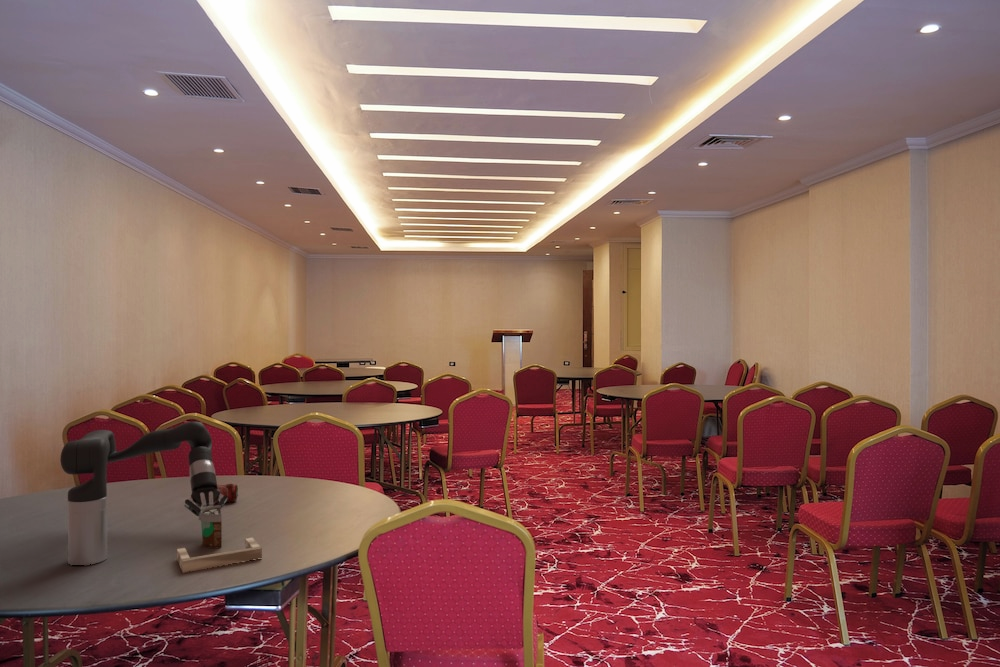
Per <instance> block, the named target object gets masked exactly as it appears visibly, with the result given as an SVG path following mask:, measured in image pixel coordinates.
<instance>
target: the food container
mask: <svg viewBox="0 0 1000 667" xmlns="http://www.w3.org/2000/svg"><path fill="white" fill-rule="evenodd" d="M221 512H222V508H221V505H213V506H212V507H208V506H207V508H205V509H202V510H201V512H200V514H199V516H198V521H200V522H201V523H200V524H201V537H202V546H203V547H204V546H205V547H204V548H207V547H222V537H223V536H222V533H223V532H222V523H223V522H222V521H223V520H222V519H223V518H222V513H221ZM222 548H223V547H222Z"/></svg>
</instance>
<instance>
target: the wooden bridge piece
mask: <svg viewBox="0 0 1000 667" xmlns="http://www.w3.org/2000/svg"><path fill="white" fill-rule="evenodd" d="M244 541H245V542H244V546H245V548H246V549H245V548H241V549H237V550H230V551H224V552H218V553H212V554H211V553H210V554H205V555H200V556H199V555H197V556H193V557H192V556H191V557H190V555H189V553H188V551H187V549H186V547H181V548H177V549H176V560H177V563H178V565H179V567H180V570H181V572H182V573H183V574H184V573H189V571H190V572H194V571H202V570H206V569H207V568H208V569H213V568H212V567H214V568H218V567H217V566H219V567H223V566H222V565H225V566H229V565H228V564H231V565H233V564H232V563H237V564H239V563H238V562H242V561H248V560H253V559H258V558H262V559H263V551H262V550H263V549H262V547H261V545H260V544H259V543H258V542H257V541H256V540H255V539H254V537H247V538H245V539H244ZM208 569H207V570H208Z"/></svg>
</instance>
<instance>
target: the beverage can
mask: <svg viewBox="0 0 1000 667" xmlns="http://www.w3.org/2000/svg"><path fill="white" fill-rule="evenodd" d="M217 487H218V490H219V491H220V494H222V495H227V496H228V497H227V501H226V503H233V502H235V501H237V500H238V497H239V494H238V492H239V491H238V489H239V487H238V485H237V484H234V483H224V484H223V483H221V484H217ZM218 503H219V498H218V499H217V501H216V502H215V504H218Z"/></svg>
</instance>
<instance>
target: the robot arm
mask: <svg viewBox="0 0 1000 667" xmlns="http://www.w3.org/2000/svg"><path fill="white" fill-rule="evenodd" d="M183 442H187V443H188V445H189V446H190V451H189V453H188V466H189V480H190V488H191V495H190V497H189V498H187V499H185V501H184V505H183V506H184V507H185V508H186V509H187V510H189V511H190V512H191V513H193V514H194V515H195V516H197V517H199V514H200V512H201V510H202V509H205V508H208V507H212V506H215V504H217V505H221V509H222V508H223V506H225V504H226V503H227V502H226V501H227V497H228V496H227V495H222V494H220V491H219V490H218V487H217V485H218V482H217V473H216V469H215V465H214V461H213V455H212V453H213V452H212V451H213V449H212V448H213V440H212V435H211V434H210V431H209V430H208V429H207V427H205V425H204V424H203V423H202V422H200V421H196V420H195V421H188V422H185V423H182V424H180V425H177V426H175V427H172V428H167V429H159V430H157V429H156V430H153V431H150V432H148V433H146V434H144V435H143V436H141V437H140V438H139V439H138V440H136V441H135V442H134V443H132V444H131V445H130V446H128V447H126V448H124V449H122V450H118V451H117V444H116V437H115V434H114V433H113V431H111V430H108V429H97V430H94V431H90V432H88V433H86V434H84V435H83V436H82V438H80V439H78V440H70V441H68V442H66V443H65V445H63V448H62V449H61V452H60V459H59V460H60V465H61V468H62V470H63V472H64V473H65V474H67V475H86V474H87V475H88V474H93V476H92V477H91V478H90V479H89V480H87V481H85V482H83V483H81V484H78V485H76V486H74V487H73V486H72V488H70V489H69V490H68V492H67V564H68V565H69V564H70V565H69V566H72V565H84V566H90V564H91V565H95V564H98V563H102V562H104V561H106V560H107V558H108V501H107V500H108V496H107V494H108V493H107V492H108V491H107V490H108V489H107V484H108V483H107V481H108V480H107V478H108V477H107V474H108V473H107V472H108V464H110V463H115V462H118V461H124V460H128V459H132V458H136V457H141V456H144V455H146V454H154V453H160V452H167V451H173V450H178V448H180V447H181V445H182V443H183ZM218 498H219V503H215V502H216V501H217V499H218ZM217 505H216V506H217Z"/></svg>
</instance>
